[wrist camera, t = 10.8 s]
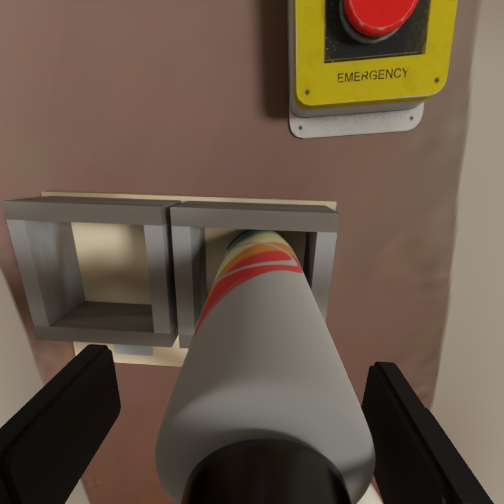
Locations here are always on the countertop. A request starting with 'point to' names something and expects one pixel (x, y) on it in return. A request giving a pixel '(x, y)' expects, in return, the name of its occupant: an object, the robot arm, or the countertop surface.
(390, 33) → the emergency button
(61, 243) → the socket board
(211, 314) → the lotion bottle
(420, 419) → the robot arm
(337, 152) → the countertop surface
